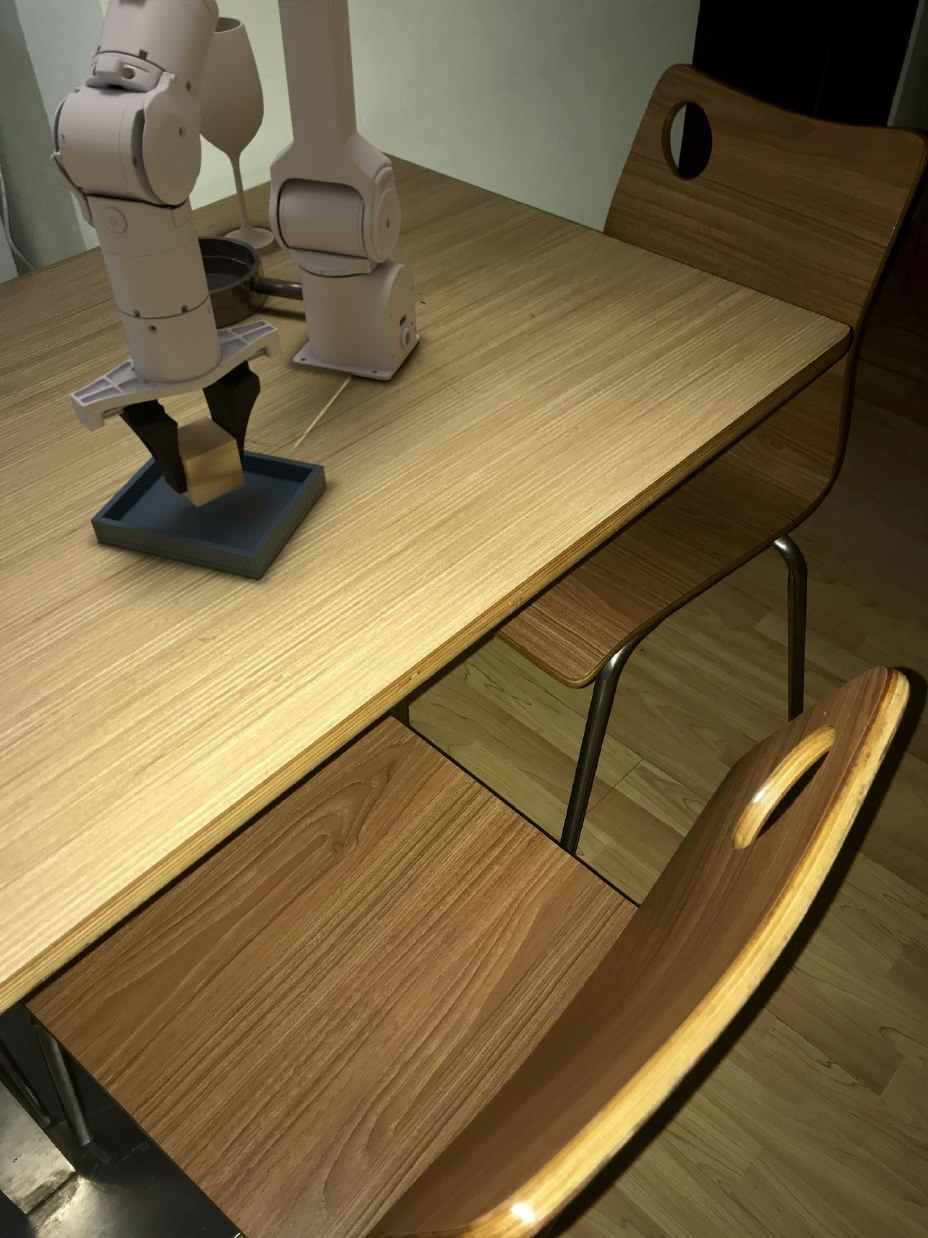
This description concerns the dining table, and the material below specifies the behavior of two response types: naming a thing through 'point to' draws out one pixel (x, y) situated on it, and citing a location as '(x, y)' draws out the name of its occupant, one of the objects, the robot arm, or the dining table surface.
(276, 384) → the dining table surface
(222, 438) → the cube
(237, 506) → the tray
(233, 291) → the pan
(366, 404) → the dining table surface
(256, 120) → the wineglass
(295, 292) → the pan handle
